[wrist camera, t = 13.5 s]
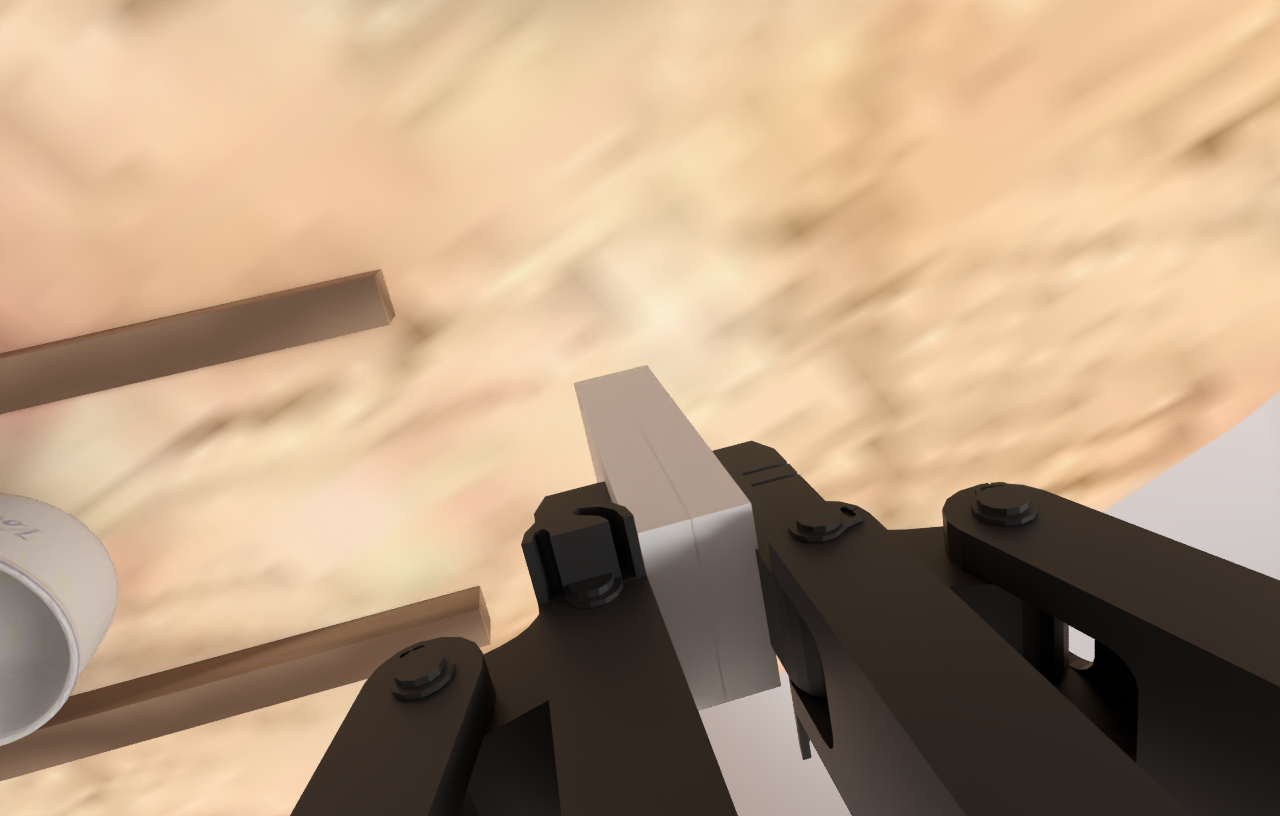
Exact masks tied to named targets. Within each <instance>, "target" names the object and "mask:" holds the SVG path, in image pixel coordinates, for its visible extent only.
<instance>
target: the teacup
mask: <svg viewBox="0 0 1280 816" xmlns="http://www.w3.org/2000/svg"><path fill="white" fill-rule="evenodd" d="M117 597H118V581H117V576H116V571H115V568H114V564H113V562H112V560H111V557H110V555H109V553H108V551H107V550H106V548H105V547H104V545H103V544H102V542H101V541H100V540H99V539H98V537H97V536H96V535H95V534H94V533H93V532H92V531H91V530H90V529H89V528H88V527H87V526H85V525H84V524H83V523H82V522H80V521H79V520H78V519H76V518H75V517H73V516H72V515H70V514H68V513H66V512H64V511H63V510H61V509H59V508H57V507H54V506H52V505H50V504H47V503H45V502H41V501H38V500H35V499H31V498H27V497H23V496H17V495H10V494H0V746H2V745H5V744H8V743H11V742H14V741H16V740H18V739H21V738H23V737H25V736H27V735H29V734H30V733H32V732H34V731H35V730H37V729H38V728H40V727H41V726H42V725H44V724H45V723H46V722H47V721H49V720H50V719H51V718H52V717H53V716H54V715H55V714H56V713H57V712H58V711H59V710H60V709H61V708H62V706H63V705H64V704H65V702H66V701H67V700H68V698H69V696H70V694H71V692H72V691H73V688H74V686H75V683H76V680H77V679H78V677H79V676H80V675H81V673H82V672H83V670H84V669H85V667H86V666H87V664H88V662H89V661H90V659H91V658H92V656H93V655H94V653H95V651H96V650H97V648H98V646H99V645H100V643H101V641H102V639H103V638H104V636H105V634H106V632H107V630H108V628H109V626H110V624H111V621H112V619H113V616H114V613H115V609H116V605H117Z"/></svg>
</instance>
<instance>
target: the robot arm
mask: <svg viewBox="0 0 1280 816" xmlns="http://www.w3.org/2000/svg"><path fill="white" fill-rule="evenodd" d="M574 386H575V390H576V394H577V399H578V403H579V407H580V411H581V416H582V420H583V424H584V428H585V432H586V437H587V441H588V445H589V449H590V453H591V458H592V462H593V466H594V470H595V474H596V479H597V483H596V484H592V485H588V486H584V487H580V488H577V489H573V490H569V491H565V492H561V493H557V494H553V495H550V496H546V497H545V498H544V499H543V501H542V502H541V504H540V505H539V507H538V509H537V510H536V512H535V513H534V517H535V523H534V524H533V525H532V526H531V527H530V528H529V529H528V530H527V531H526V532H525V534H524V537H523V540H522V544H521V546H522V549H523V553H524V556H525V560H526V563H527V567H528V570H529V574H530V577H531V581H532V584H533V588H534V591H535V595H536V598H537V602H538V606H539V615H538V617H537V618H536V619H535V620H534V622H533V623H532V624H531V625H530V626H529V627H528V628H527V629H526V630H524V631H523V632H522V633H521V634H520V635H518V636H517V637H515V638H514V639H512V640H510V641H509V642H507V643H505V644H504V645H502V646H500V647H498V648H496V649H494V650H492V651H490V652H488V653H486V654H484V655H483V653H482V651H481V650H480V648H479V647H478V645H477V644H476V643H475V642H473V641H470V640H468V639H465V638H462V637H439V638H435V639H431V640H427V641H421V642H418V643H416V644H413V645H411V646H410V647H406V648H405V649H403V650H401V651H399V652H398V653H396V654H395V655H393V656H392V657H391V658H389V659H388V660H387V661H385V662H384V663H383V664H381V665H380V666H379V667H377V669H376V670H375V671H374V672H373V674H372V675H371V676H370V677H369V679H368V680H367V681H366V682H365V684H364V685H363V687H362V689H361V691H360V693H359V694H358V696H357V698H356V700H355V701H354V703H353V705H352V707H351V708H350V710H349V712H348V714H347V716H346V717H345V719H344V721H343V723H342V724H341V726H340V728H339V730H338V732H337V733H336V735H335V737H334V739H333V740H332V742H331V744H330V746H329V747H328V749H327V751H326V753H325V755H324V756H323V758H322V760H321V762H320V763H319V765H318V767H317V769H316V771H315V772H314V774H313V776H312V778H311V779H310V781H309V783H308V785H307V787H306V788H305V790H304V792H303V794H302V795H301V797H300V799H299V801H298V802H297V804H296V806H295V808H294V810H293V811H292V813H291V815H290V816H738V815H737V812H736V810H735V807H734V804H733V802H732V799H731V797H730V794H729V791H728V789H727V786H726V783H725V781H724V778H723V776H722V773H721V770H720V767H719V765H718V762H717V760H716V757H715V754H714V752H713V749H712V746H711V744H710V741H709V738H708V736H707V733H706V730H705V728H704V725H703V722H702V720H701V717H700V715H699V712H698V711H699V710H702V709H705V708H709V707H712V706H715V705H719V704H722V703H726V702H729V701H732V700H735V699H739V698H742V697H745V696H749V695H752V694H756V693H759V692H762V691H765V690H769V689H773V688H776V687H779V686H781V683H780V677H779V671H778V665H777V659H776V655H777V656H778V658H779V660H780V661H781V663H782V665H783V667H784V668H785V670H786V672H787V674H788V675H789V682H790V688H791V694H792V700H793V707H794V713H795V719H796V726H797V732H798V738H799V744H800V749H801V753H802V758H803V760H805V759H809V758H811V751H810V745H809V742H810V740H811V742H812V743H813V745H814V747H815V749H816V751H817V753H818V755H819V756H820V758H821V760H822V762H823V764H824V766H825V767H826V769H827V771H828V773H829V775H830V777H831V778H832V780H833V782H834V784H835V786H836V788H837V789H838V791H839V793H840V795H841V797H842V799H843V800H844V802H845V804H846V806H847V808H848V810H849V811H850V813H851V815H852V816H1280V580H1277V579H1274V578H1272V577H1269V576H1266V575H1264V574H1261V573H1259V572H1256V571H1254V570H1251V569H1248V568H1246V567H1243V566H1241V565H1238V564H1235V563H1233V562H1230V561H1227V560H1225V559H1222V558H1220V557H1217V556H1214V555H1212V554H1209V553H1207V552H1204V551H1201V550H1198V549H1196V548H1193V547H1191V546H1188V545H1186V544H1183V543H1180V542H1177V541H1175V540H1172V539H1170V538H1167V537H1165V536H1162V535H1159V534H1157V533H1154V532H1152V531H1149V530H1146V529H1144V528H1141V527H1139V526H1136V525H1133V524H1131V523H1128V522H1125V521H1123V520H1120V519H1118V518H1115V517H1112V516H1110V515H1107V514H1105V513H1102V512H1099V511H1097V510H1094V509H1091V508H1089V507H1086V506H1084V505H1081V504H1078V503H1076V502H1073V501H1071V500H1068V499H1065V498H1063V497H1060V496H1057V495H1055V494H1052V493H1050V492H1047V491H1044V490H1041V489H1037V488H1033V487H1029V486H1025V485H1017V484H1007V483H1004V482H996V483H991V484H988V483H985V484H980V485H976V486H974V487H971V488H967V489H964V490H961V491H958V492H957V493H955V494H954V495H952V496H951V497H949V498H948V499H947V500H946V502H945V505H944V507H943V509H942V513H943V526H942V527H930V528H918V529H907V530H887V529H886V528H885V527H884V526H883V525H882V524H881V523H880V522H879V521H878V520H877V519H875V518H874V517H873V516H872V515H871V514H870V513H869V512H867V511H865V510H864V509H862V508H860V507H858V506H856V505H852V504H848V503H844V502H839V501H825V500H824V499H823V498H822V497H821V496H820V495H819V494H818V493H817V492H816V491H815V490H814V489H813V488H812V487H811V486H810V485H809V484H808V483H807V482H806V481H805V480H804V479H803V478H802V477H801V476H800V475H798V474H797V472H796V471H795V469H794V468H793V467H792V466H791V465H790V464H787V461H786V460H785V459H784V458H783V457H782V456H781V455H780V454H779V453H778V452H777V451H776V450H775V449H774V448H771V447H768V446H765V445H762V444H759V443H757V442H754V441H749V442H745V443H741V444H737V445H733V446H729V447H726V448H722V449H718V450H714V451H711V449H710V448H709V447H708V445H707V444H706V443H705V441H704V440H703V439H702V437H701V436H700V435H699V434H698V432H697V431H696V430H695V428H694V427H693V426H692V424H691V423H690V422H689V420H688V419H687V418H686V416H685V415H684V414H683V412H682V411H681V410H680V408H679V407H678V406H677V404H676V403H675V402H674V400H673V399H672V398H671V397H670V395H669V394H668V393H667V391H666V390H665V389H664V387H663V386H662V385H661V383H660V382H659V381H658V379H657V378H656V377H655V375H654V374H653V373H652V371H651V370H650V369H649V367H648V366H647V365H646V366H642V367H637V368H633V369H629V370H625V371H621V372H617V373H613V374H609V375H605V376H601V377H596V378H592V379H588V380H584V381H580V382H576V383H574ZM1068 625H1070V626H1071V627H1073V628H1075V629H1077V630H1079V631H1081V632H1083V633H1084V634H1086V635H1088V636H1090V637H1092V638H1094V639H1095V658H1094V661H1093V662H1090V661H1087V660H1085V659H1082V658H1080V657H1078V656H1076V655H1074V654H1073V653H1071V652H1070V651H1069V649H1068V648H1069V638H1068V637H1069V635H1068V634H1069V632H1068V631H1069V628H1068Z"/></svg>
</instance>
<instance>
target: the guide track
mask: <svg viewBox="0 0 1280 816" xmlns="http://www.w3.org/2000/svg"><path fill="white" fill-rule="evenodd" d="M394 316H395V313H394V309H393V306H392V303H391V300H390V297H389V293H388V290H387V287H386V284H385V281H384V277H383V274H382V271H381V269H380V270H376V271H371V272H367V273H362V274H358V275H353V276H349V277H344V278H340V279H335V280H331V281H326V282H322V283H317V284H313V285H308V286H304V287H299V288H295V289H290V290H286V291H281V292H277V293H272V294H267V295H263V296H258V297H254V298H249V299H245V300H240V301H236V302H231V303H227V304H222V305H218V306H213V307H209V308H204V309H200V310H195V311H191V312H186V313H182V314H177V315H173V316H168V317H164V318H159V319H155V320H150V321H146V322H141V323H137V324H132V325H128V326H123V327H119V328H114V329H110V330H105V331H101V332H96V333H92V334H87V335H83V336H78V337H74V338H69V339H64V340H60V341H55V342H51V343H46V344H42V345H37V346H33V347H28V348H24V349H19V350H15V351H10V352H6V353H1V354H0V414H2V413H7V412H11V411H15V410H20V409H24V408H28V407H33V406H37V405H42V404H46V403H50V402H55V401H59V400H63V399H68V398H72V397H76V396H81V395H85V394H89V393H94V392H98V391H102V390H107V389H111V388H116V387H120V386H124V385H129V384H133V383H137V382H142V381H146V380H150V379H155V378H159V377H163V376H168V375H172V374H176V373H181V372H185V371H189V370H194V369H198V368H203V367H207V366H211V365H216V364H220V363H224V362H229V361H233V360H237V359H242V358H246V357H250V356H255V355H259V354H263V353H268V352H272V351H277V350H281V349H285V348H290V347H294V346H298V345H303V344H307V343H311V342H316V341H320V340H324V339H329V338H333V337H337V336H342V335H346V334H351V333H355V332H359V331H364V330H368V329H372V328H377V327H381V326H385V325H389V324H390V322H391V321H392V319H393V318H394ZM439 637H462V638H465V639H468V640H470V641H473V642H475V643H476V644H477V645H478V647H483V646H486V645H490V617H489V614H488V611H487V607H486V604H485V601H484V598H483V594H482V591H481V588H480V586H478V587H474V588H471V589H467V590H463V591H459V592H456V593H452V594H448V595H445V596H441V597H437V598H434V599H430V600H426V601H423V602H419V603H415V604H411V605H408V606H404V607H400V608H397V609H393V610H389V611H386V612H382V613H378V614H374V615H371V616H367V617H363V618H360V619H356V620H352V621H349V622H345V623H341V624H337V625H334V626H330V627H326V628H323V629H319V630H315V631H312V632H308V633H304V634H300V635H297V636H293V637H289V638H286V639H282V640H278V641H275V642H271V643H267V644H264V645H260V646H256V647H252V648H249V649H245V650H241V651H238V652H234V653H230V654H227V655H223V656H219V657H215V658H212V659H208V660H204V661H201V662H197V663H193V664H190V665H186V666H182V667H178V668H175V669H171V670H167V671H164V672H160V673H156V674H153V675H149V676H145V677H141V678H138V679H134V680H130V681H127V682H123V683H119V684H116V685H112V686H108V687H104V688H101V689H97V690H93V691H90V692H86V693H82V694H79V695H75V696H71V697H69V698H68V700H67V701H66V702H65V704H64V705H63V706H62V708H61V709H60V710H59V711H58V712H57V713H56V714H55V715H54V716H53V717H52V718H51V719H50V720H49V721H47V722H46V723H45V724H44V725H42V726H41V727H40V728H38V729H37V730H35V731H34V732H32V733H30V734H29V735H27V736H25V737H23V738H21V739H18V740H16V741H14V742H11V743H8V744H5V745H2V746H0V781H3V780H6V779H10V778H14V777H17V776H21V775H24V774H28V773H31V772H35V771H39V770H42V769H46V768H49V767H53V766H57V765H60V764H64V763H67V762H71V761H74V760H78V759H82V758H85V757H89V756H92V755H96V754H100V753H103V752H107V751H110V750H114V749H117V748H121V747H125V746H128V745H132V744H135V743H139V742H142V741H146V740H150V739H153V738H157V737H160V736H164V735H168V734H171V733H175V732H178V731H182V730H185V729H189V728H193V727H196V726H200V725H203V724H207V723H211V722H214V721H218V720H221V719H225V718H228V717H232V716H236V715H239V714H243V713H246V712H250V711H253V710H257V709H261V708H264V707H268V706H271V705H275V704H279V703H282V702H286V701H289V700H293V699H296V698H300V697H304V696H307V695H311V694H314V693H318V692H322V691H325V690H329V689H332V688H336V687H339V686H343V685H347V684H350V683H354V682H357V681H361V680H365V679H368V678H369V677H370V676H371V675H372V674H373V672H374V671H375V670H376V669H377V667H379V666H380V665H381V664H383V663H384V662H385V661H387V660H388V659H389V658H391V657H392V656H393V655H395V654H396V653H398V652H399V651H401V650H403V649H405V648H406V647H410V646H411V645H413V644H416V643H418V642H421V641H427V640H431V639H435V638H439Z"/></svg>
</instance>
